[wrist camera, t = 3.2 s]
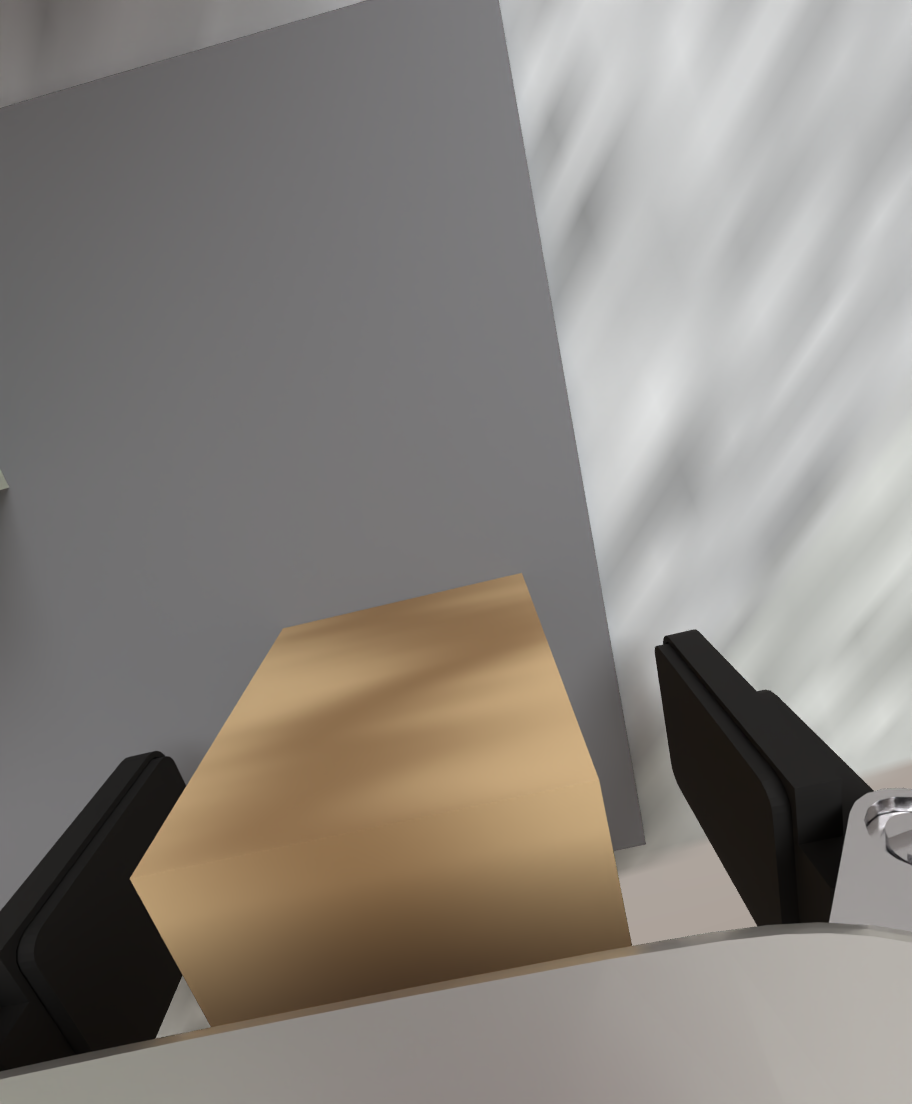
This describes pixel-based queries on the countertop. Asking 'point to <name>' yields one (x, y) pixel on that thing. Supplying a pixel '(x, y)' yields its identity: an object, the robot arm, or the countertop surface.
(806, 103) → the countertop surface
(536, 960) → the oak block
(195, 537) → the mat
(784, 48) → the countertop surface
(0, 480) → the sage block
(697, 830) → the countertop surface
